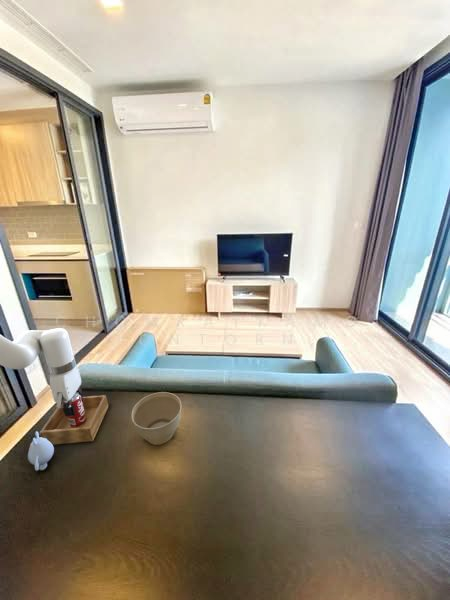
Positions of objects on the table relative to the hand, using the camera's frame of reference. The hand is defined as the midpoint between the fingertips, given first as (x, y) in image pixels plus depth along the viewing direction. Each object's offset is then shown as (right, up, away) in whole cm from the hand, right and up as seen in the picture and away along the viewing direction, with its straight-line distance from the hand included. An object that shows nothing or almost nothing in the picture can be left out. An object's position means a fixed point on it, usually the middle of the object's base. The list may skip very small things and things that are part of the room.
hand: (74, 408), depth 88 cm
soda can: (0, -7, +3) cm, 7 cm away
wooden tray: (0, -7, +3) cm, 7 cm away
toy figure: (-2, -13, -11) cm, 17 cm away
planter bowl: (+31, -8, -1) cm, 32 cm away
